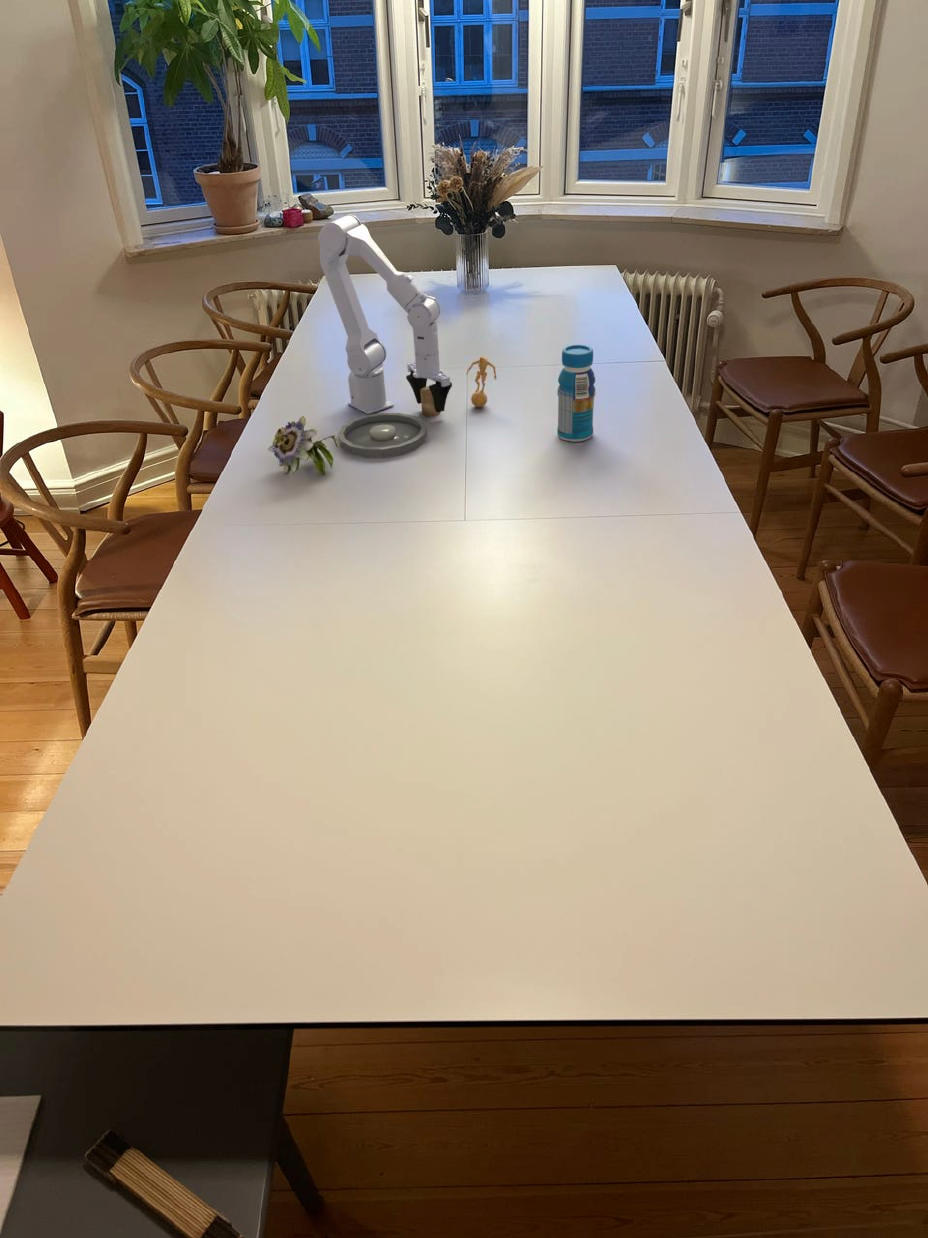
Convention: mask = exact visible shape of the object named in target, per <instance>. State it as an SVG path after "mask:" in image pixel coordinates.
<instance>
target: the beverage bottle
mask: <svg viewBox="0 0 928 1238" xmlns="http://www.w3.org/2000/svg"><path fill="white" fill-rule="evenodd" d="M593 363H594V349H593V348H592V347H591V346H589V345H585V344H571V345H567V346H564V347H563V349H562V352H561V364H562V366H563V368H562V369H561V371H560V372H559V375H558V379H557V382H558V384H559V386H558V387H557V391H556V393H557V394H556V395H557V398H558V399H557V400H558V407H557V409H558V411H557V413H558V414H557V431H556V434H557V436H558V437H559V438H560V439H561V440H564V441H565V442H574V443H577V442H584V441H587V440H589V439H591V438H592V437H593V434H594V408H595V407H594V406H595V396H596V387H595V383H596V375H595V372H594V371H593V369H592V368H591V367H592V366H593Z"/></svg>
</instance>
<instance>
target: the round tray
mask: <svg viewBox="0 0 928 1238" xmlns="http://www.w3.org/2000/svg"><path fill="white" fill-rule="evenodd" d="M428 435H429V434H428V426H427V425H426V423H425V421H424V420H423V419H421V418H419V417H417V416H415V415H411V414H408V413H402V412H378V413H371V414H365V415H362V416H360V417H358V418H353V419H351V420H350V421H348V422H347V423H345V424H344V425H342V426H341V427H340V429H339V431H338V433H337V437H338V444H339V446H340V448H341V449H342V450H343V451H345V452H347V453H348V454H350V455H353V456H358V457H363V458H383V459H384V458H389V457H394V456H395V457H396V456H401V455H404V454H407V453H410V452H412V451H415V450H417V449H418V448H420V447H421V446H422V445H424V444H425V443H426V441H427V437H428Z"/></svg>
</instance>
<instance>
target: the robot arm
mask: <svg viewBox="0 0 928 1238" xmlns="http://www.w3.org/2000/svg"><path fill="white" fill-rule="evenodd" d="M317 241H318V244H319V263H320V266H321V269H322V271H323V275H324V277H325V279H326V280H325V281H326V282H327V285H328V287H329V290H330V293H331V295H332V299H333V300H334V304H335V305H336V309H337V312H338V314H339V317H340V319H341V322H342V324H343V328H344V330H345V332H346V336H347V340H346V345H345V352H346V354H347V361H346V362H347V366H348V368H349V370H350V372H349V373H348V374H349V375H348V378H347V380H348V381H347V382H348V389H349V396H350V401H347V404H348V406H351V407H353V408H354V409H357V410H359V411H361V412H363V413H364V414H365V415H371V414H375V413H376V412H379V411H382V410H385V409H388V408H391V407H394V406H395V405H394V403H393V402H391V401H388V400H387V396H386V395H387V394H386V384H385V383H386V382H385V375H384V362H385V361H386V359H387V349H386V347H385V345H384V343H382V342H381V341H380V339H379V337H378V334H377V332H375V331H373V330H372V329H370V328H369V325H368V322H367V319H366V316H365V313H364V311H363V308H362V305H361V303H360V300H359V297H358V294H357V292H356V289H355V286H354V284H353V281H352V278H351V275H350V273H349V270H348V267H347V264H346V262H347V259H348V257H349V256H357V257H360V258H362V259H363V260H364V261H365V262H366V263H367V264H368V266H370V267H371V268H372V269H373V270H374V271H375V272H376V273H377V274H378V275H379V276H380V277H381V278H382V279H383V280H384V281H385V282H386V291H387V292H388V294H389V295H391V297H392V298H393V299H394V300H395V301H396V302H397V304H398V305H399V306H400V307H401V308H402V309H403V311H404V312H405V313H407V315H406V318H407V321H408V323H409V325H410V326H411V328H412V334H413V348H414V358H415V359H414V361H415V362H414V361H413V362H409V363H407V364H406V365H407V367H406V368H407V372H409V374H407V375H406V377H405V378H406V380H407V382H408V384H409V385H410V387H411V389H412V391H413V395H414V398H415V400H416V403H417V404H418V405H420V404H421V392H420V390H421V389H422V388H424V387H427V382H428V380H431V381H432V382H434V383H432V384H430V385H428V387H429V389H430V391H431V393H432V396H433V400H434V406H435V411H436V412H437V413H438V412H440V413H441V412H443V411H445V408H446V402H447V398H448V395H449V392H450V390H451V389H452V387H453V383H452V382H451V377H450V376H448V375H447V374H446V373H445V372H444V371H443V369H441V365H440V351H439V350H440V349H439V337H438V336H439V335H438V334H439V332H438V322H437V320H438V319H439V317H440V315H441V307H440V304H439V302H438V301H437V299H436V298H435V297H433V296H430V295H427V294H426V293H425V292H423V291H422V290H421V289H420V288H419V287H418V285H417V284H416V283H415V282H414V277H413V276H411V274H407V273H406V272H405V271H398V270H397V269H396V268H395V266H394V265H393V264H392V263H391V261H390V260H389V259H388V257H387V256H386V255H385V254H384V252H383V251H382V249H380V247H379V246H378V244H377V243H376V242H375V241H374V239H373V238H372V236H371V235H370V232H369V230H368V228H367V226H366V225H365V224H364V223H363V224H362V222H361V220H360V218H359V217H357V216H356V215H354V214H351V213H347V214H344V215H343V216H341V217H338V218H337V219H335V220H333V221H329V222H326V223H325V224H324V225H323V226H321V229H320V231H319V234H318V235H317Z"/></svg>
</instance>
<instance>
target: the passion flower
mask: <svg viewBox="0 0 928 1238" xmlns="http://www.w3.org/2000/svg"><path fill="white" fill-rule="evenodd" d="M306 420H307V419H306V417H305V416H304V415H302V416H301V417H300V418H299V419H298V421H294V420H292V421H291V422H290V421H288V422H287V424H285V427H283V426H281V428H280V427H279V428H278V430H277V431H276V432H275V434H274V438H273V440H272V445H271V446H269V447H268V451H269V452H271V453H273V455H274V456H275V457H276V458H277V460H278V462H279V464H278V466H279V467H283V466H284V469H283V474H289V473H290V472H291V471H292V472H293V473H296V472H297V471H298V470H299V468H300V461H301V460H302V461H307V460H309V458H310V459H311V461H313V464H314V466H315V468H316V470H317V471H318V473H319V474H321V475H326V463H325V459H326V461H327V462H328V464H329V466H330V469H332V467H333V462H334V458H333V455H332V453H331V452H330V450H329V449H328V448H327V446H326V444H325V443H323V441H324V440H327V439H330V438H331V439H333V441H334V444H335V447H336V448H337V447H339V446H340V443H339V441H338V440H337V438H336V435H335V434H333V435H330V436H328V437H325V438H323V439H321V440H317V441H315V442H312V441H313V438H314V437H315V436H317V429H316V428H312V429H307V430H305V426H306ZM319 451H320V452H319ZM321 454H323V456H324V457H325V459H324V457H323V456H322V455H321Z"/></svg>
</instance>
